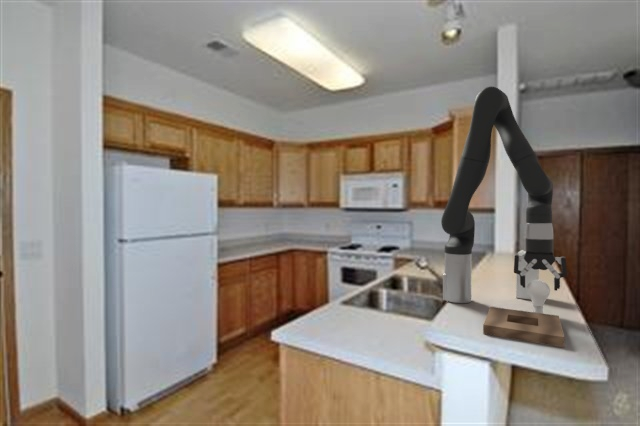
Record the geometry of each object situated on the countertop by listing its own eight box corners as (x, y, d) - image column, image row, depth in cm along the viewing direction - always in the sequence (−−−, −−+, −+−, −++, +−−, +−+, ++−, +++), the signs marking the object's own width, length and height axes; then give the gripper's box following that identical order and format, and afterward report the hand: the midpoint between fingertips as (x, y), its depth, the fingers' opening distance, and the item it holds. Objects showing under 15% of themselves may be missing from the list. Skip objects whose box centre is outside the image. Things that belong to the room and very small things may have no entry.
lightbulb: (542, 318, 109) (542, 282, 109) (522, 313, 115) (522, 279, 115) (554, 315, 112) (554, 280, 112) (534, 310, 118) (534, 277, 117)
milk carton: (538, 296, 136) (539, 247, 135) (538, 301, 130) (538, 248, 129) (517, 294, 140) (517, 245, 139) (516, 298, 134) (516, 247, 133)
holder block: (483, 333, 96) (483, 324, 96) (490, 314, 113) (490, 306, 113) (564, 347, 87) (564, 337, 87) (558, 324, 104) (558, 315, 104)
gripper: (513, 237, 113) (513, 288, 113) (567, 238, 106) (568, 293, 106) (514, 236, 120) (514, 284, 120) (565, 237, 112) (566, 288, 112)
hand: (539, 288), depth 113 cm, fingers open, 8 cm apart
